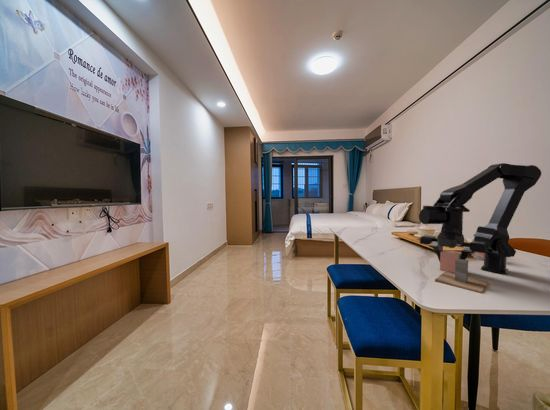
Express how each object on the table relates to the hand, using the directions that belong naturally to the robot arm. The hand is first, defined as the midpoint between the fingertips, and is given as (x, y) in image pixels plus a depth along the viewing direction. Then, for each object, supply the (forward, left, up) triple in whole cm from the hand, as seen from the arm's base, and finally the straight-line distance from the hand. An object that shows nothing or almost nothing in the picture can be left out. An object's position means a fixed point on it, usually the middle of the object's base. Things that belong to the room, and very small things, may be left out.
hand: (450, 266), depth 78 cm
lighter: (-28, +4, -2) cm, 28 cm away
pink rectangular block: (0, 0, -1) cm, 1 cm away
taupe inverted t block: (+11, +5, -1) cm, 12 cm away
